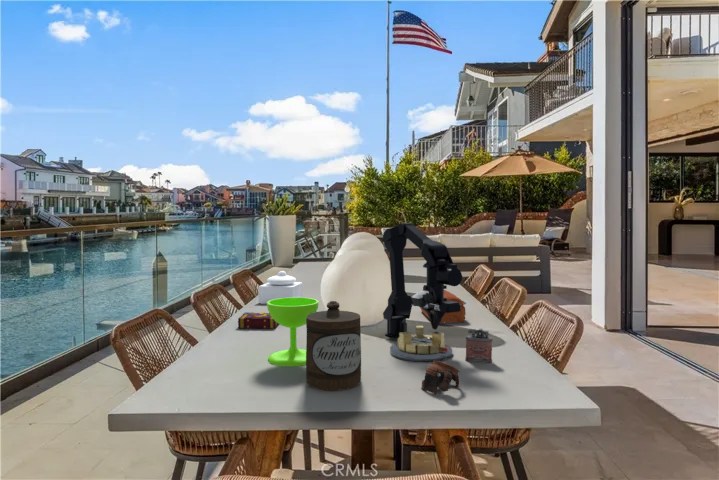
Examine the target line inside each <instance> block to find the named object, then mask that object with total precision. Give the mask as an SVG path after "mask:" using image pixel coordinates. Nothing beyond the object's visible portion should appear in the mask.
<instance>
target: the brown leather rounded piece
mask: <svg viewBox="0 0 719 480" xmlns="http://www.w3.org/2000/svg"><path fill="white" fill-rule="evenodd" d="M459 373H460V370H459V368H456V367H454V366H452V365H451V364H449V363H446V362H442V360H441V361H435V360H434V361H433V362H432V363H431V364H430V365H429V366H427V368H426V369H425V375H424V378H423V380H421V389H422V390H425V391H427V392H429V393H432V394H434V395H436V394H437V392H438V389H439V391H441V392H448V391H449V388H450V385H451V383H452V381H453V382H455V384H454V385H455V386H454V387H455V388H456V387H457V388H459V386H460V377H459ZM438 374H439V375H438Z"/></svg>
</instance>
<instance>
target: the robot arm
mask: <svg viewBox="0 0 719 480" xmlns="http://www.w3.org/2000/svg"><path fill="white" fill-rule="evenodd" d="M382 239H383V245H384V248H385V249H386V250H387V251H388V255H389V256H388V257H389V270H390V271H389V273H390V286H391V292H390V294H389V296H388V298H387V305H386V308H385V310H384V311H383V313H382V315H383V319H384V320H386V332H385V333H384V336H387V337H395V338H399V333H400V332H408V323H407V319H410V317H411V313H412V312H411V311H412V308H413V306H414V307H419V308H420V307H421V308H422V309H423V310H425V311H426V312H427V313H428V316H429V318H428V320H429V321H430V324H431V328H432V329H433V330H437V329H438V327H439V325H440V324H441V323H440V321H441V320H442V318H443V316H444V314H445V313H451V312H458V311H461V305H460V303H459V302H454V301H447V298H444V290H447V289H448V286H451V287H457V286H459V285H461V283H462V281H463V274H462V271H461V270H460V269H459V268H458V265H457V264H456V263H454V262H453V258H452V257H451V255H450V253H449V250H448V248H447V246H446V244H444V243H441V242H439V241H436V240H433V239H431V238H430V237H428V236H427V235H426V234H425V233H424V232H422V231H421V230H420V229H419V228H418V227H416V225H415V224H414V223H413V222H402V223H399V224H398V225H395V226H393V227H390V228H387V229H385V231H383V234H382ZM407 240H409V241H410V242H411V243H412V244H414V245H415V246H416V248H418V249H419V251H420V255H421V256H422V258H423V259H424V260H425V263H424V264H423V265H422V268H424V269H425V268H426V283H425V284H424V285H423V287H422V291H418V292H417V293H414V294H413V295H409V294H408V293H407V292H406V285H405V284H406V283H405V267H404V253H403V252H404V250H405V248H406V246H407ZM443 301H447V302H443ZM421 308H420V309H421Z"/></svg>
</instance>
